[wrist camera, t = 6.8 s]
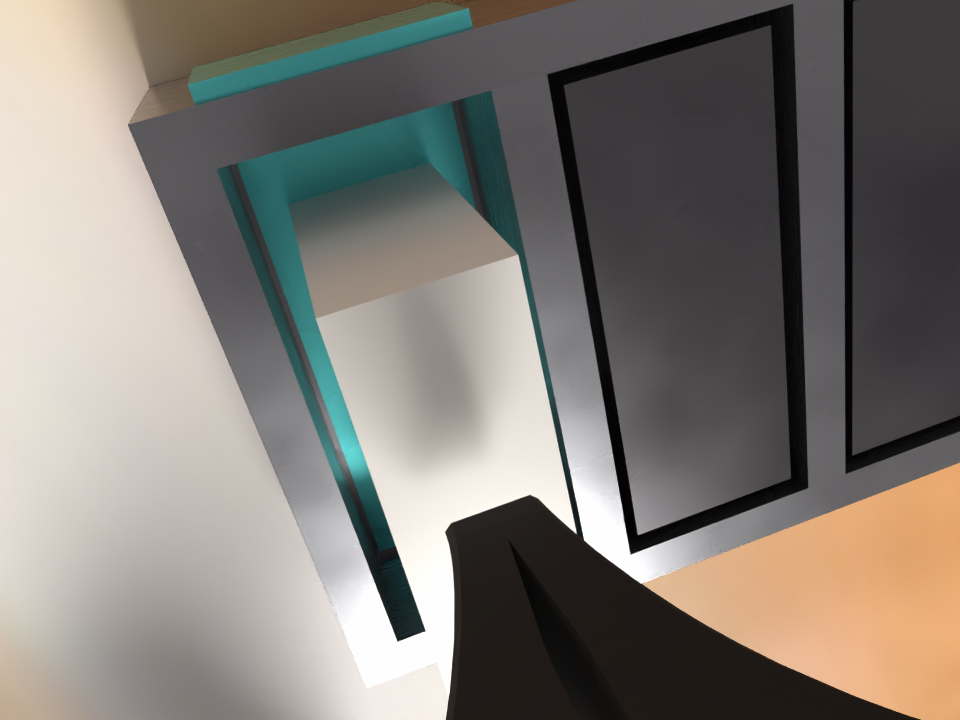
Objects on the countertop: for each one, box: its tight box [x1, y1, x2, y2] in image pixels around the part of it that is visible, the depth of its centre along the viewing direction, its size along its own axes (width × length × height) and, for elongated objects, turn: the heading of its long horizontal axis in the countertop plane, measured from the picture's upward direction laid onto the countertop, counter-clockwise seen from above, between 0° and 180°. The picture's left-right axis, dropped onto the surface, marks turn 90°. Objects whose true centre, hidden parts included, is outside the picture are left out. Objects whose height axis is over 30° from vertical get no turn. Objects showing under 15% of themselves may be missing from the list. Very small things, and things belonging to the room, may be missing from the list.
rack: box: [128, 0, 960, 688], centre depth 19 cm, size 18×13×4 cm
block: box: [288, 163, 577, 695], centre depth 16 cm, size 3×8×6 cm, turn 12°
